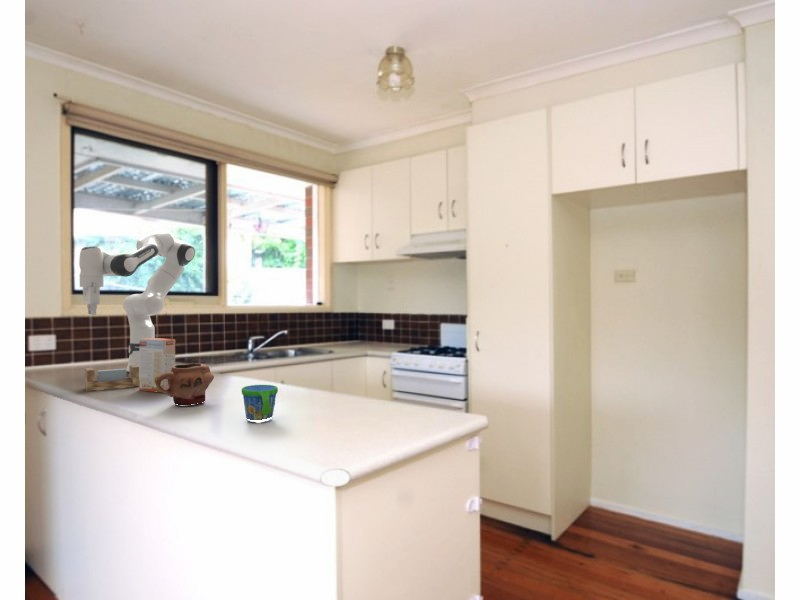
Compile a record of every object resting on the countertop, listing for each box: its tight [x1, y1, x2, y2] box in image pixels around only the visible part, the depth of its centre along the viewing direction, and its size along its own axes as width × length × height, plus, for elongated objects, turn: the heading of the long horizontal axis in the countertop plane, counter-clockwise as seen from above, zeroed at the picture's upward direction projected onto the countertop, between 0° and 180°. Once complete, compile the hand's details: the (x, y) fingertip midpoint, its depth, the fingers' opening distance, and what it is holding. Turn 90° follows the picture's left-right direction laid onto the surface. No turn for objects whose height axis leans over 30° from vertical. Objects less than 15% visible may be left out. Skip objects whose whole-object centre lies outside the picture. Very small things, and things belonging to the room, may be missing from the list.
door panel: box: [97, 368, 127, 382], centre depth 199 cm, size 10×2×6 cm, turn 128°
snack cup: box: [241, 384, 279, 420], centre depth 147 cm, size 16×11×10 cm
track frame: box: [84, 365, 139, 392], centre depth 199 cm, size 18×8×8 cm, turn 128°
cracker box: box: [138, 337, 176, 393], centre depth 193 cm, size 14×6×21 cm, turn 65°
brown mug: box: [156, 363, 215, 405], centre depth 168 cm, size 20×12×14 cm, turn 146°
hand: (92, 314), depth 212 cm, fingers open, 8 cm apart
